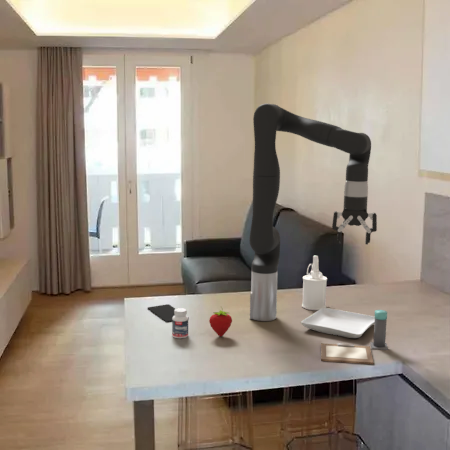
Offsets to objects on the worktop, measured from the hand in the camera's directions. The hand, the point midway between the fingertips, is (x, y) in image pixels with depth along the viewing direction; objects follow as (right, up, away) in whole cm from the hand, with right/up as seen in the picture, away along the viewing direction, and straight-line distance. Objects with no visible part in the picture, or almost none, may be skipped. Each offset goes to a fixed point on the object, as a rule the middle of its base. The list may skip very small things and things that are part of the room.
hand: (353, 243), depth 198 cm
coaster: (+6, -32, -10) cm, 34 cm away
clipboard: (-6, -33, -17) cm, 37 cm away
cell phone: (-63, -27, +21) cm, 72 cm away
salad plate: (-3, -30, +8) cm, 31 cm away
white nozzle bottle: (-8, -25, +31) cm, 41 cm away
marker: (+6, -32, -10) cm, 34 cm away
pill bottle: (-57, -30, -2) cm, 65 cm away
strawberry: (-44, -31, -2) cm, 54 cm away
